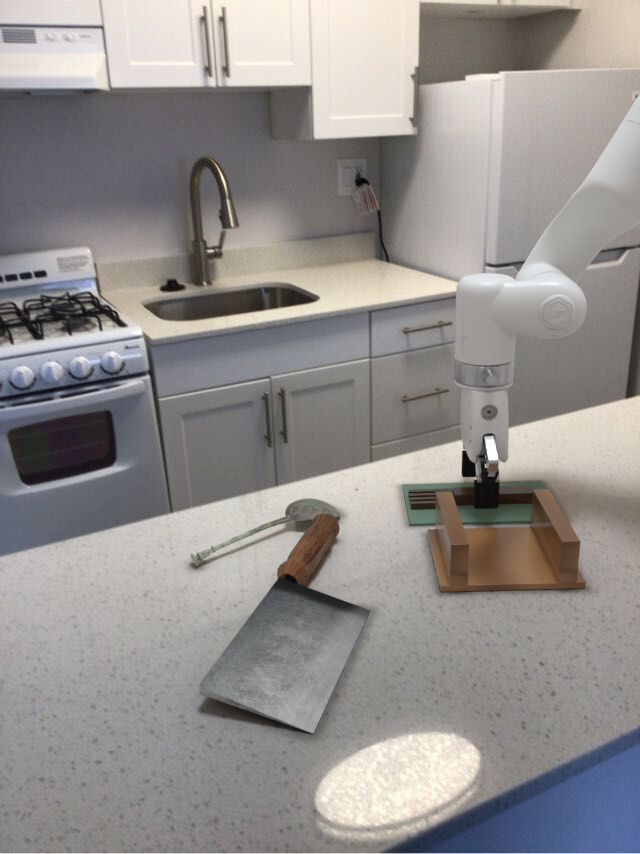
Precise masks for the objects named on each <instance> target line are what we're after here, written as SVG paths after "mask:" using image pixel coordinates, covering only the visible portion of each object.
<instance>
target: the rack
mask: <svg viewBox="0 0 640 854" xmlns="http://www.w3.org/2000/svg"><path fill="white" fill-rule="evenodd" d="M434 526H435V528H428V529H427V532H426V533H427V538H428V543H429V547H430V551H431V552H430V553H431V555H432V560H433V565H434V568H435V574H436V577H437V582H438V586H439V590H440V592H443V593H444V592H482V591H483V592H486V591H488V592H489V591H525V590H526V591H527V590H529V591H531V590H567V589H571V590H572V589H574V590H575V589H586V582H587V581H586V580H585V579H584V577H583V575H582V573H581V571H580V569H579V562H580V552H581V543H582V542H581V539H580V538H579V537H578V535H577V533H576V531H575V529H574V528H573V527H572V525H571V523H570V521H569V519H568V518H567V516H566V515H565V513H564V512H563V509H562V508H561V507H560V505H559V503H558V502H557V500H556V498H555V497H554V495H553V494H552V492H551V490H550V489H549V488H545V489H536V490H533V495H532V510H531V522H530V526H504V527H503V526H500V527H499V526H498V527H464V524H462V521H461V518H460V515H459V512H458V509H457V506H456V503H455V500H454V497H453V494H452V492H436V522H435V525H434Z"/></svg>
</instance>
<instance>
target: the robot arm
mask: <svg viewBox="0 0 640 854" xmlns="http://www.w3.org/2000/svg"><path fill="white" fill-rule="evenodd" d="M639 224H640V93H639V94H638V96H637V97H636V99H635V100H634V102H633V104H632V105H631V107H630V108H629V110H628V111H627V113H626V115H625V116H624V118H623V120H622V121H621V123H620V124H619V126H618V127H617V129H616V130H615V132H614V133H613V135H612V137H611V138H610V140H609V141H608V143H607V145H606V147H605V148H604V149H603V152H602V153H601V154H600V156H599V157H598V159H597V160H596V163H595V164H594V165H593V167H592V169H591V170H590V172H588V175H587V176H586V177H585V179H584V180H583V182H582V183H581V184H580V186H579V187H577V189H576V190H575V191H574V192H573V194H572V195H571V196H570V197H569V199H568V201H567V202H566V203H565V205H564V206H563V207H562V208H561V209H560V210H559V212H558V213H557V214H556V215H555V217H554V218H553V219H552V220H551V222H550V223H549V224H548V226H547V227H546V228H545V230H544V231H543V233H542V235H541V236H540V238H538V240H537V242H536V244H535V245H534V247H533V248H532V249H531V252H530V253H529V255H528V257H527V258H526V259H525V261H524V263H523V264H522V266H521V267H520V269H519V270H518V273H517V275H516V277H515V278H514V277H512V276H510V275H507V274H503V273H495V272H493V273H492V272H485V273H474V274H468V275H465V276H463V277H462V278H461V279H459V281H458V282H457V285H456V291H455V325H454V327H455V328H454V359H453V360H454V361H453V362H454V363H453V364H454V365H453V366H454V367H453V384H454V385H455V386H457V387H458V388H460V390H461V395H460V419H459V420H460V421H459V422H460V427H459V429H460V438H461V442H462V450H461V476H462V477H463V478H476V479H474V480H473V482H474V495H473V506H474V508H475V509H495V508H498V505H499V484H500V482H501V481H500V478H501V477H500V468H499V465H500V462H502V463H506V462H508V460H509V430H510V428H509V427H510V426H509V421H510V417H509V416H510V413H509V396H508V395H509V394H508V389H509V388H511V387H512V386H513V385H514V374H515V373H514V371H515V356H516V352H515V351H516V340H517V339H516V337H517V335H518V336H523V337H524V336H525V337H531V338H538V339H551V340H552V339H553V340H554V339H560V338H564V337H566V336H569V335H571V334H573V333H574V332H576V331H578V329H580V327H581V326H582V324H583V323H584V321H585V319H586V317H587V311H588V304H587V299H586V296H585V293H584V291H583V290H582V288H581V287H580V286H579V285H578V282H579V281H580V279H581V278H582V277H583V275H584V273H585V272H586V270H587V269H588V267H589V266H590V265H591V263H592V262H593V261H594V260H595V258H596V257H597V256H598V254H599V253H600V252H602V250H603V249H604V248H605V247H606V246H607V245H608V244H609V243H611V242H612V241H613V240H614V239H616V238H617V237H619V236H620V235H623V233H626V232H627V231H630V230H631V229H633V228H635V227H636V226H638V225H639Z"/></svg>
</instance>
